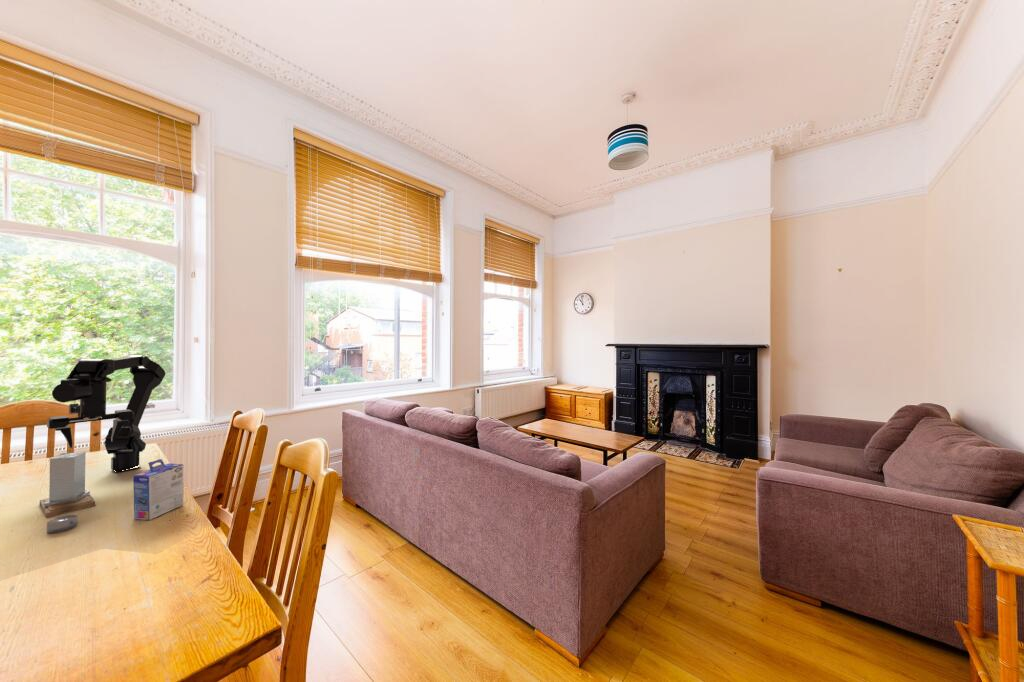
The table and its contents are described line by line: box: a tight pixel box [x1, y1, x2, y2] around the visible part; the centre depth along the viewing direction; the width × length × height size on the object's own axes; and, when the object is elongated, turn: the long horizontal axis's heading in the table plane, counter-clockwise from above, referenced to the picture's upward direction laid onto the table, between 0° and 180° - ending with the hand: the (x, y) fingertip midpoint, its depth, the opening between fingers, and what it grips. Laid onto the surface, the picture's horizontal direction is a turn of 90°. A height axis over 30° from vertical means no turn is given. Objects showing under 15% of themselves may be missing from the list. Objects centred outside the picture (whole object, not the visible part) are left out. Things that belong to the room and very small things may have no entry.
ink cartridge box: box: [132, 458, 184, 521], centre depth 107 cm, size 10×6×14 cm, turn 174°
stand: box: [39, 489, 97, 518], centre depth 109 cm, size 9×13×2 cm
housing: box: [43, 451, 91, 506], centre depth 109 cm, size 6×6×13 cm
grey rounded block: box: [46, 514, 78, 535], centre depth 96 cm, size 5×5×2 cm
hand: (92, 444), depth 123 cm, fingers open, 9 cm apart
